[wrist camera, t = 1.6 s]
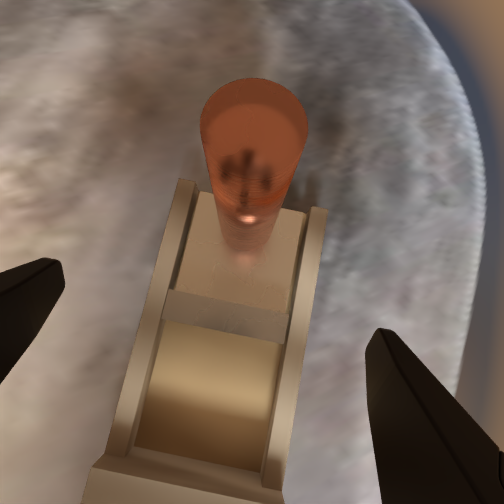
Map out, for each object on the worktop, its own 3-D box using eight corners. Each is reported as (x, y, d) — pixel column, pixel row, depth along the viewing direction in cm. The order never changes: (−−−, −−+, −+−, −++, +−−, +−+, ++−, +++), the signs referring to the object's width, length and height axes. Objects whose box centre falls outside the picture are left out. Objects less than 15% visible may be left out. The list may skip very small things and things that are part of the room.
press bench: (265, 522, 18) (273, 586, 14) (110, 489, 19) (69, 542, 14) (316, 224, 22) (335, 200, 18) (186, 196, 22) (174, 166, 18)
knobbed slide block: (277, 340, 19) (330, 372, 8) (172, 318, 19) (78, 319, 8) (299, 218, 20) (370, 101, 9) (202, 198, 20) (158, 57, 9)
